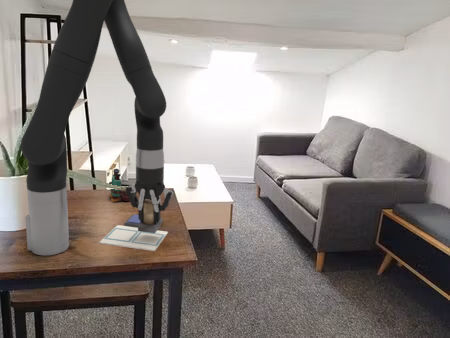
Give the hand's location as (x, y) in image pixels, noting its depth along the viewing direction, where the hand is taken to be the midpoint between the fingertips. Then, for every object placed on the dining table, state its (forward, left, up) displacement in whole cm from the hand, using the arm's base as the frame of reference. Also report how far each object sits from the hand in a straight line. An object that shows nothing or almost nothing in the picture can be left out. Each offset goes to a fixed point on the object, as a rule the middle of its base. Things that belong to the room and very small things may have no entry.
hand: (149, 221), depth 112 cm
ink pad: (-5, +10, -6) cm, 13 cm away
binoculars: (-20, +29, -6) cm, 36 cm away
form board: (-4, 0, -6) cm, 7 cm away
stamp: (0, 0, -2) cm, 2 cm away
